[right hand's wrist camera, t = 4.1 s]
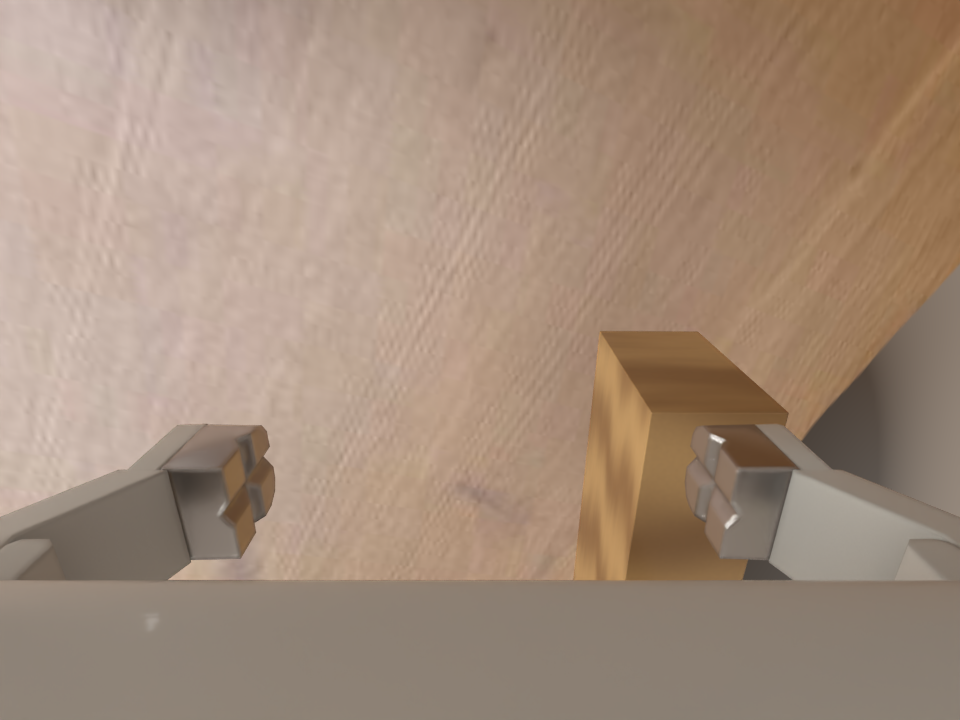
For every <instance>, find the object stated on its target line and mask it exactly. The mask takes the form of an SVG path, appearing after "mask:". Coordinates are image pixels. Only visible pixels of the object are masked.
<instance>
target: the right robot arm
mask: <svg viewBox="0 0 960 720" xmlns="http://www.w3.org/2000/svg"><path fill="white" fill-rule="evenodd" d="M269 447H270V445H269V440H268V435H267V431H266V430H265V429H264V427H263V426H262V425H215V424H210V425H208V424H184V425H177V426H176V427H175V428H173V429H172V430H171V431H170V432H169V433H168V434H167V435H166V436H165V437H163V438H162V439H161V440H160V441H159V442H158V443H157V444H156V445H155V446H153V447H152V448H151V449H150V450H149V451H148V452H147V453H146V454H144V455H143V456H142V457H141V458H140V459H139V460H138V461H137V462H136V463H134V464H133V465H132V466H131V467H130V468H129V469H128V470H117V471H114V472H112V473H109V474H107V475H104V476H102V477H99V478H97V479H94V480H92V481H89V482H87V483H84V484H82V485H79V486H77V487H74V488H72V489H69V490H67V491H64V492H62V493H59V494H57V495H54V496H52V497H49V498H47V499H44V500H42V501H39V502H37V503H34V504H32V505H29V506H27V507H24V508H22V509H19V510H17V511H14V512H12V513H9V514H7V515H4V516H2V517H0V720H960V517H958V516H956V515H953V514H951V513H948V512H946V511H943V510H941V509H938V508H936V507H933V506H931V505H928V504H926V503H923V502H921V501H918V500H916V499H913V498H911V497H908V496H906V495H903V494H901V493H898V492H896V491H893V490H890V489H888V488H886V487H883V486H881V485H878V484H876V483H873V482H871V481H868V480H866V479H863V478H861V477H858V476H856V475H853V474H851V473H848V472H846V471H843V470H832V469H831V468H830V467H829V466H828V465H827V464H826V463H825V462H823V461H822V460H821V459H820V458H819V457H818V456H817V455H816V454H814V453H813V452H812V451H811V450H810V449H809V448H808V447H807V446H806V445H805V444H803V443H802V442H801V441H800V440H799V439H798V438H797V437H796V436H795V435H793V434H792V433H791V432H790V431H789V430H788V429H787V428H786V427H785V426H783V425H779V424H758V425H755V424H745V425H703V426H697V427H696V428H695V430H694V432H693V434H692V439H691V445H690V447H691V448H692V450H693V452H694V453H695V455H696V456H697V457H696V458H695V459H694V460H693V461H692V462H691V463H690V464H689V465H688V466H687V468H686V475H685V492H686V498H687V501H688V505H689V507H690V509H691V511H692V513H693V514H694V516H695V517H697V518H699V519H700V520H702V521H703V522H705V523H706V524H705V529H704V533H705V535H706V537H707V538H708V540H709V542H710V543H711V545H712V547H713V548H714V550H715V552H716V553H717V555H718V557H719V558H720V559H752V560H769V563H771V564H772V565H773V566H775V567H776V568H778V569H779V570H780V571H782V572H783V573H784V574H786V575H787V576H788V577H790V578H791V579H792V580H168V579H169V578H171V577H172V576H173V575H175V574H176V573H177V572H179V571H180V570H181V569H183V568H184V567H185V566H187V565H188V564H189V563H191V560H209V559H241V557H242V555H243V554H244V552H245V550H246V549H247V547H248V545H249V543H250V542H251V540H252V538H253V537H254V535H255V533H256V529H255V524H254V523H255V522H257V521H258V520H260V519H261V518H263V517H265V516H266V514H267V513H268V511H269V509H270V507H271V505H272V501H273V497H274V493H275V474H274V468H273V466H272V465H271V464H270V463H269V462H268V461H267V460H266V459H265V458H264V457H263V456H264V455H265V453H266V452H267V450H268V448H269Z"/></svg>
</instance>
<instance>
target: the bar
mask: <svg viewBox="0 0 960 720" xmlns="http://www.w3.org/2000/svg"><path fill="white" fill-rule="evenodd" d="M788 414H789V413H788V412H787V411H786V410H785V409H784V408H783V407H782V406H780V405H779V404H778V403H777V402H776V401H775V400H774V399H773V398H772V397H770V396H769V395H768V394H767V393H766V392H765V391H764V390H763V389H761V388H760V387H759V386H758V385H757V384H756V383H755V382H754V381H752V380H751V379H750V378H749V377H748V376H747V375H746V374H745V373H744V372H742V371H741V370H740V369H739V368H738V367H737V366H736V365H735V364H733V363H732V362H731V361H730V360H729V359H728V358H727V357H726V356H724V355H723V354H722V353H721V352H720V351H719V350H718V349H717V348H715V347H714V346H713V345H712V344H711V343H710V342H709V341H708V340H707V339H705V338H704V337H703V336H702V335H701V334H700V333H699V332H650V331H600V333H599V343H598V352H597V362H596V371H595V380H594V390H593V399H592V409H591V418H590V427H589V437H588V446H587V456H586V465H585V474H584V484H583V493H582V503H581V512H580V522H579V531H578V540H577V550H576V559H575V569H574V578H573V580H742V579H743V576H744V572H745V569H746V565H747V561H748V559H720V558H719V557H718V555H717V553H716V552H715V550H714V548H713V547H712V545H711V543H710V542H709V540H708V538H707V537H706V535H705V533H704V529H705V524H706V523H705V522H703V521H702V520H700V519H699V518H697V517H695V516H694V514H693V513H692V511H691V509H690V507H689V505H688V501H687V498H686V492H685V475H686V468H687V466H688V465H689V464H690V463H691V462H692V461H693V460H694V459H695V458H696V457H697V456H696V455H695V453H694V452H693V450H692V448H691V447H690V445H691V439H692V434H693V432H694V430H695V428H696V427H697V426H703V425H745V424H755V425H758V424H779V425H783V426H785V425H786V421H787V418H788Z"/></svg>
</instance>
